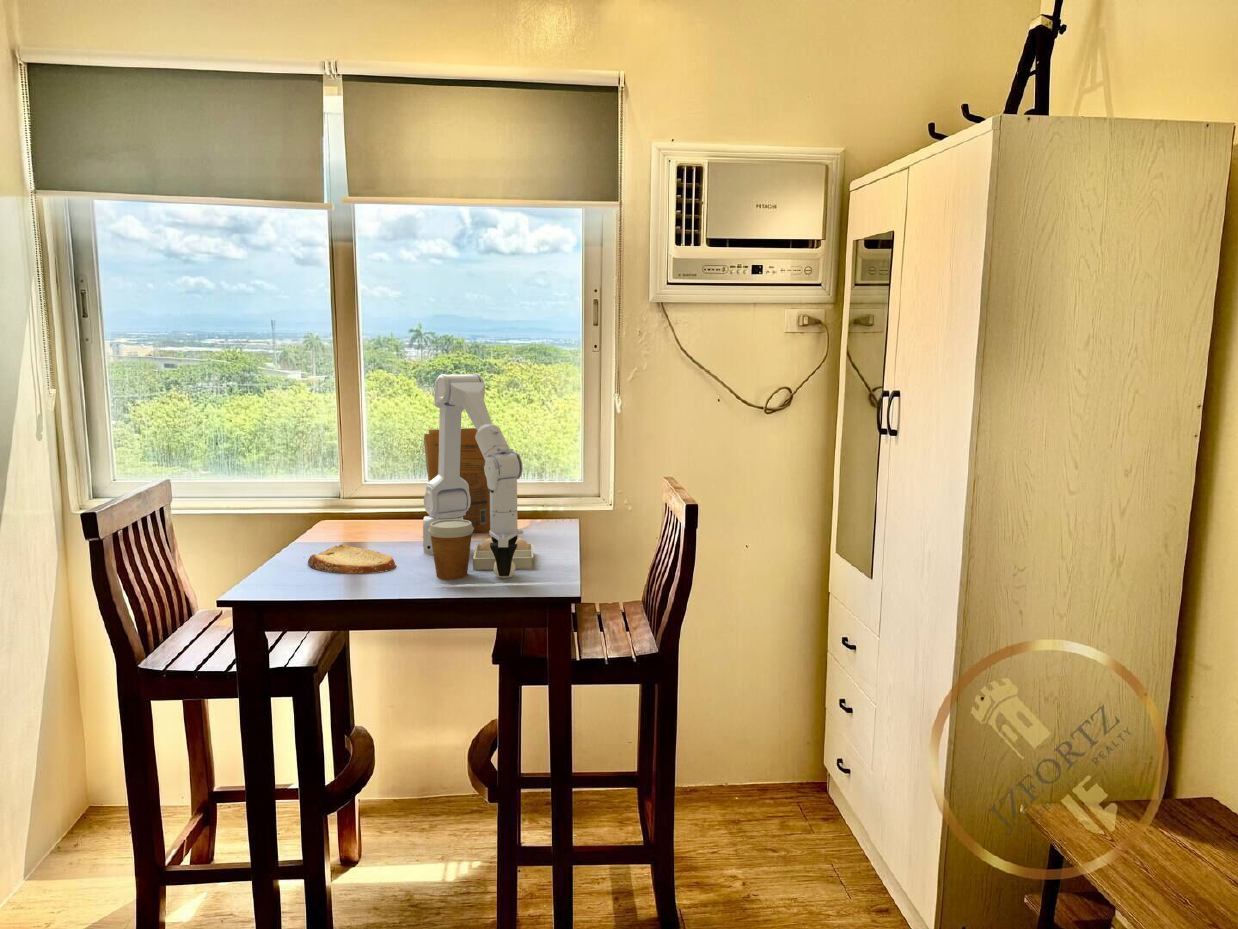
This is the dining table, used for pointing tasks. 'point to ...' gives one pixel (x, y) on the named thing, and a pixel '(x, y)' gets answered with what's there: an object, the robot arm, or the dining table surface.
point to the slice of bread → (351, 560)
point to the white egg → (510, 571)
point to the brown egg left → (486, 545)
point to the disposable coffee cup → (451, 547)
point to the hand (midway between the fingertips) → (504, 572)
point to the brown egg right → (521, 544)
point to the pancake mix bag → (465, 475)
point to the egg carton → (487, 560)
